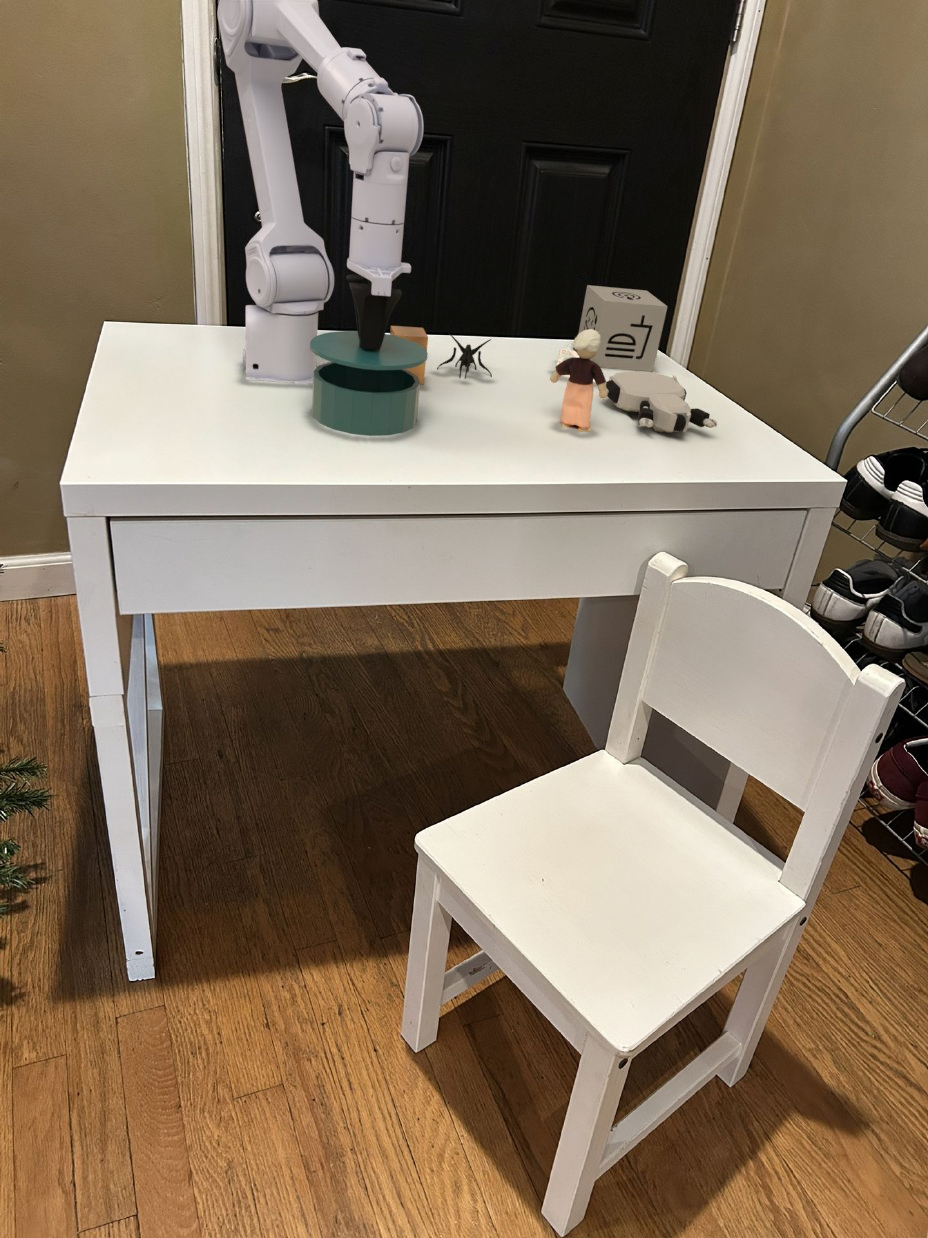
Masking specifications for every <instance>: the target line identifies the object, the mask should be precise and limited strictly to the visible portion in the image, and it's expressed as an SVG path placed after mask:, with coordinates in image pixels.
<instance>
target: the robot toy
mask: <svg viewBox="0 0 928 1238" xmlns="http://www.w3.org/2000/svg"><path fill="white" fill-rule="evenodd" d="M606 392H607V397H606V398H608V399H609V400H610V401H611V402H612V403H613V404H614V405H615V406H616V408H617V409H620V410H622V411H623V412H627V413H630V412H636V413H638V415H637V416H638V418H637V421H638V426H640V427H643V428H650V429H651V428H653V429H654V431H655V432H657V433H658V432H659V433H676V432H682V433H685V432H687V430H688V427H689V423H691V424H693V425H695V426H697V427H699V428H704V427H706V428H709V429H712V428H716V427H717V426H718V421H717V420H716V419H715V418H710V413H709V412H707V411H704V410H703V409H700V408H691V407H690V405H689V403H688V402H687V401H686V398H687V391H686V388H684V386H683V385H682V384H681V383H680V382H679V380H678V379H677V376H676V375H674V374H673V375H672V377H671V376H668V375H665V374H661V373H655V372H649V371H638V370H635V371H623V372H622V371H621V372H617V373H615V374H613V375H611V376H609V378H608V380H606Z"/></svg>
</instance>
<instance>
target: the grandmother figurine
mask: <svg viewBox="0 0 928 1238" xmlns="http://www.w3.org/2000/svg"><path fill="white" fill-rule="evenodd" d="M600 339H601V337H600V334H599V333H598V332H597V331H595V330H592V329H588V330H584V331H583V332H580V333H579V332H578V334H577V335H576V336H575V337H574V339H573V343H571V346H572V347H573V349H575V351H576V353H577V354H578V355H579V358H576V357H573V358H571V357H569V358H566V359H564V360H563V362H561V363H560V364H558V365H557V366H556V365H555V370H554V371H553V373H552V375H550V378H549V380H550V382H551V383H554V384H556V383H557V382H558V381H559V380H560V378H561V377H563V376H562V375H570V377H568V379H567V381H566V386H565V390H564V395H563V399H562V406H561V415H560V421H561V423H560V425H561V426H562V427H564V428H569V427H572V426H577V428H576V431H579V432H590V431H592V430H593V428H592V426H590V422H591V416H592V405H593V399H594V390H595V389H594V383H595V384H596V386H597V389H598V396H599V398H600V399H606V398H608V397H607V392H606V382H607V380H606V377H605V374H604V372H603V369H602V368H601V367H600V366H599V365H598V364H596V363H595V362H593V361H591V360H589V359H591V358H593V357H594V356H595V355H596V353H597V350H598V347H599V344H600V343H601V342H600ZM593 379H594V380H595V382H593Z"/></svg>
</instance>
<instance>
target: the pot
mask: <svg viewBox="0 0 928 1238" xmlns="http://www.w3.org/2000/svg"><path fill="white" fill-rule="evenodd" d="M312 382H313V383H312V400H311V402H312V403H311V415H312V418H313V419H314V420H315V421H316V422H318V423H319V424H320V425H322V426H325V427H327V428H329V429H331V430H334V431H338V432H341V433H342V432H343V433H346V434H351V435H356V436H357V435H358V436H369V437H375V436H379V437H381V436H382V437H383V436H392V435H393V436H394V435H398V434H403V433H406V432H408V431H410V430H412V429H414V427H415V426H416V424H417V421H418V409H419V401H420V399H419V398H420V390H421V389H420V388H421V385H420V381H419V379H418V377H417V376H416V375H414V374H413V373H411V372H410V371H408V370H405V369H400V370H367V369H360V368H354V367H349V366H345V365H341V364H337V363H334V362H330V361H328V362H325V363H322V364H319V365H317V368H316V369H315V370H314V371H313V381H312Z"/></svg>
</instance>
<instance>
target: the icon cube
mask: <svg viewBox="0 0 928 1238" xmlns="http://www.w3.org/2000/svg"><path fill="white" fill-rule="evenodd" d="M667 310H668V305H666V304H665V303H664V302H662V301H661V300H660V299H658V298H657V297H656V296H654V294H652V293H650V291H648V290H643V289H634V288H633V289H632V288H622V287H613V286H612V287H611V286H610V287H609V286H601V285H588V284H587V285H586V290H585V295H584V301H583V307H582V312H581V317H580V323H579V329H578V334H579V333H580V332H583V331H584V330H588V329H592V330H595V331H597V332H598V333H599V334H600V337H601V339H600V342H601V343H600V344H599V347H598V350H597V353H596V355H595V356H594V357H593V358H591V359H589V360H591V361H593V362H595V363H596V364H598V365H599V366H600V368H601V369H616V370H617V369H618V370H628V371H629V370H630V371H641V372H654V368H655V364H656V360H657V354H658V351H659V347H660V343H661V342H660V341H661V338H662V334H663V333H662V332H663V330H664V329H663V328H664V324H665V321H666V315H667V312H668V311H667Z"/></svg>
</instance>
